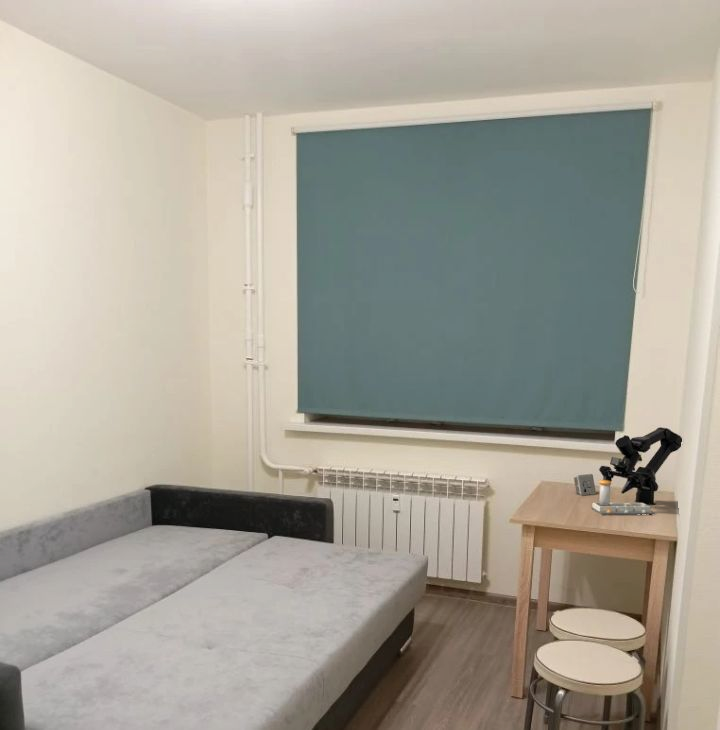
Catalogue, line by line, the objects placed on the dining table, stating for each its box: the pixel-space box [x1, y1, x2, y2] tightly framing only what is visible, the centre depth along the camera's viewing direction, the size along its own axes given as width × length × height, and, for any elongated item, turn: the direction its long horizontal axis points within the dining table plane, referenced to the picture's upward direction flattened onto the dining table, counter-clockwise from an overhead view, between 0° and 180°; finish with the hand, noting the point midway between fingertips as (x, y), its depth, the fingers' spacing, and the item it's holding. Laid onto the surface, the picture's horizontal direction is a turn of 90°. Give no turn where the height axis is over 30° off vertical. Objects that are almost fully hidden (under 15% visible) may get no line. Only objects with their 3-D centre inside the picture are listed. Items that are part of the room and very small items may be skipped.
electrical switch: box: [573, 473, 597, 496], centre depth 309 cm, size 9×5×9 cm, turn 116°
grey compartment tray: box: [591, 502, 655, 516], centre depth 276 cm, size 22×10×3 cm, turn 95°
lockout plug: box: [598, 479, 612, 506], centre depth 276 cm, size 5×5×12 cm
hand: (612, 490), depth 279 cm, fingers open, 9 cm apart
